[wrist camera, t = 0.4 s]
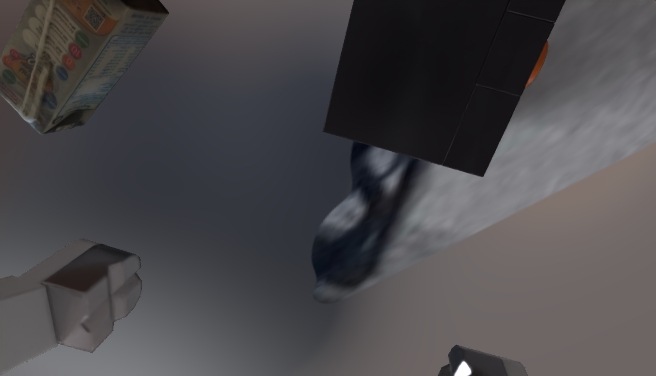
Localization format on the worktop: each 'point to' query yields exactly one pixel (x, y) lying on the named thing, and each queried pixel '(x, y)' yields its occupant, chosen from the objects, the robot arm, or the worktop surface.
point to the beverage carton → (72, 56)
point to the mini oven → (437, 75)
